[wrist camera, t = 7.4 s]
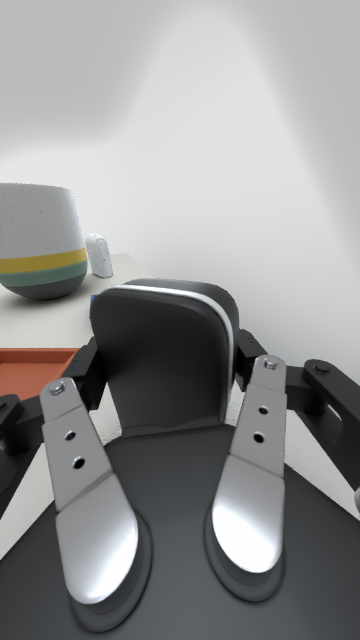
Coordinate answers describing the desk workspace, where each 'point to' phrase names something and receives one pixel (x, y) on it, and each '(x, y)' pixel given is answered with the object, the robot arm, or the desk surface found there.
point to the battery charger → (167, 349)
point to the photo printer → (98, 255)
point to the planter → (40, 241)
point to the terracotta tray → (31, 369)
